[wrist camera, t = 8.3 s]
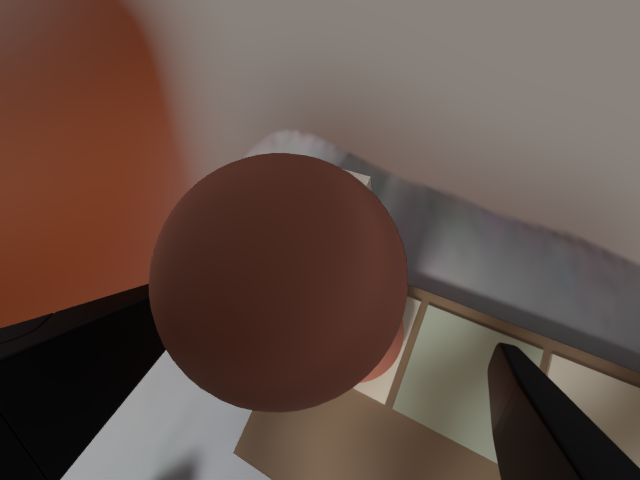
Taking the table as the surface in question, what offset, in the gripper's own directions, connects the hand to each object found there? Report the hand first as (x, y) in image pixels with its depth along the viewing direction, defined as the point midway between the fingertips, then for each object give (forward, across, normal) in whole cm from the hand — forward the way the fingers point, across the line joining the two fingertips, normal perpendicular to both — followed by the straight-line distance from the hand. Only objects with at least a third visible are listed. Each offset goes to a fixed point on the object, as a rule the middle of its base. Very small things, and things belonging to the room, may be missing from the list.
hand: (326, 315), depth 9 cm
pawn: (+6, 0, +6) cm, 8 cm away
